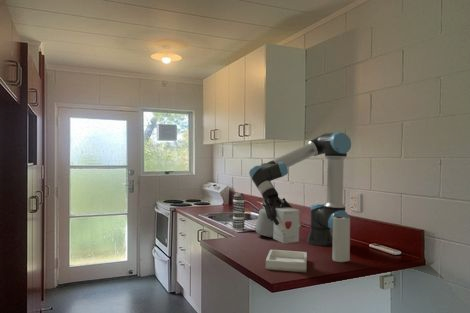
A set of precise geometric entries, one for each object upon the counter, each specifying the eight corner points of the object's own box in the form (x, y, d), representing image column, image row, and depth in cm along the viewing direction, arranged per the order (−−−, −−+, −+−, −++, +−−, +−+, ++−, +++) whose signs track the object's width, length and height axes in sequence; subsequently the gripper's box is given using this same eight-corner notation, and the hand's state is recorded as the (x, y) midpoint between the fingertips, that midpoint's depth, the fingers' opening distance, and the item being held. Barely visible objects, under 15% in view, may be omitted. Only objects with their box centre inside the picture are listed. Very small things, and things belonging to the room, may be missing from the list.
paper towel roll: (330, 260, 166) (330, 217, 166) (336, 258, 171) (336, 215, 171) (343, 263, 161) (344, 219, 161) (349, 261, 165) (350, 217, 165)
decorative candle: (229, 228, 237) (229, 193, 237) (239, 226, 243) (239, 192, 243) (237, 230, 230) (238, 194, 230) (247, 229, 236) (248, 193, 236)
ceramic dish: (306, 260, 166) (306, 252, 166) (306, 272, 149) (306, 263, 149) (270, 257, 170) (270, 249, 170) (265, 269, 153) (265, 260, 153)
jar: (279, 233, 225) (279, 195, 225) (288, 238, 211) (288, 198, 211) (252, 234, 220) (252, 196, 220) (259, 240, 206) (260, 199, 206)
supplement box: (282, 243, 153) (283, 210, 153) (272, 239, 162) (273, 207, 162) (299, 242, 157) (300, 209, 157) (289, 237, 165) (289, 207, 165)
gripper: (280, 195, 178) (302, 230, 166) (247, 198, 164) (269, 236, 152) (288, 186, 174) (311, 221, 162) (254, 188, 160) (277, 226, 148)
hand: (291, 228), depth 157 cm, fingers closed on supplement box, 10 cm apart
